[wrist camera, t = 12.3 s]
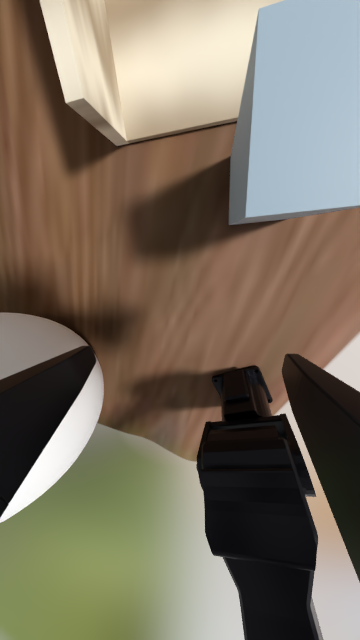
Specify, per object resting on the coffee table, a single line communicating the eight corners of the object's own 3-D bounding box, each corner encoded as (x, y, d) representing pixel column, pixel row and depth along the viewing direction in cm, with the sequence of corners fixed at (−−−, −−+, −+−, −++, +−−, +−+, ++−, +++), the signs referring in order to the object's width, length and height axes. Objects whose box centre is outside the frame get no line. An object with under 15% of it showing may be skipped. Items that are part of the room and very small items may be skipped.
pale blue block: (286, 219, 16) (400, 201, 6) (228, 225, 17) (245, 217, 7) (298, 144, 14) (504, -73, 4) (230, 156, 15) (258, 8, 5)
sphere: (14, 260, 23) (-677, 363, 5) (149, 335, 24) (-30, 617, 7) (11, 359, 32) (-237, 516, 14) (109, 409, 33) (-9, 607, 16)
